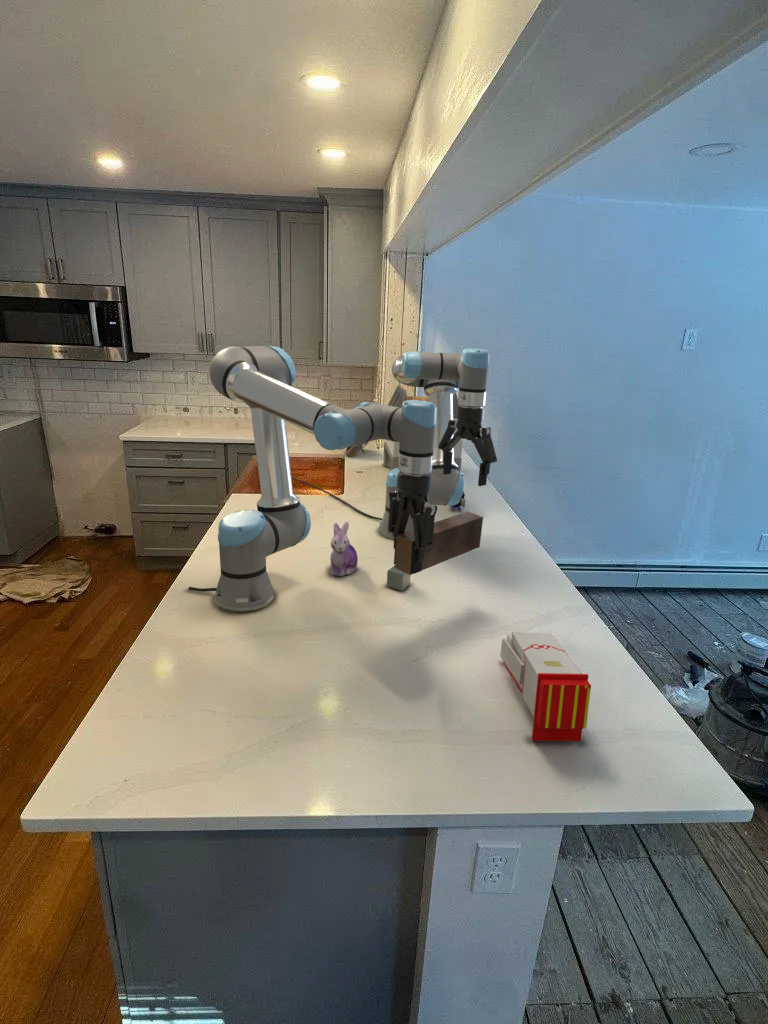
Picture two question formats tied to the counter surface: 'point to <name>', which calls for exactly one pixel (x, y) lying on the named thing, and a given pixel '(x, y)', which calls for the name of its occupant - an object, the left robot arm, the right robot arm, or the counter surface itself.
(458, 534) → the walnut bar
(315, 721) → the counter surface
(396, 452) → the grey slatted crate
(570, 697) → the toy
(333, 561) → the figurine
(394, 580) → the grey block
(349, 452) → the fossil
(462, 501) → the figurine character
